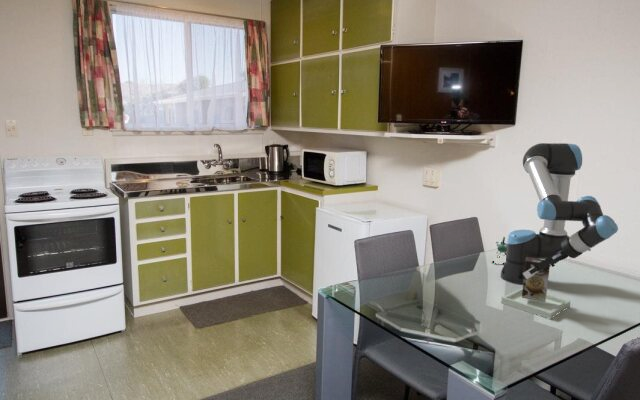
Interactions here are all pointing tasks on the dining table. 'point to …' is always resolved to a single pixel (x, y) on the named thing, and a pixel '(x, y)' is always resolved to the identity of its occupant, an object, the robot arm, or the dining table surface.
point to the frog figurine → (502, 247)
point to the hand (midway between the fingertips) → (530, 273)
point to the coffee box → (535, 282)
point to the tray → (536, 304)
